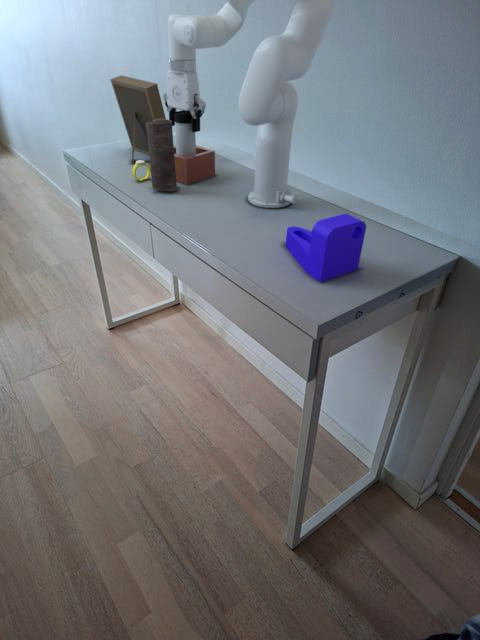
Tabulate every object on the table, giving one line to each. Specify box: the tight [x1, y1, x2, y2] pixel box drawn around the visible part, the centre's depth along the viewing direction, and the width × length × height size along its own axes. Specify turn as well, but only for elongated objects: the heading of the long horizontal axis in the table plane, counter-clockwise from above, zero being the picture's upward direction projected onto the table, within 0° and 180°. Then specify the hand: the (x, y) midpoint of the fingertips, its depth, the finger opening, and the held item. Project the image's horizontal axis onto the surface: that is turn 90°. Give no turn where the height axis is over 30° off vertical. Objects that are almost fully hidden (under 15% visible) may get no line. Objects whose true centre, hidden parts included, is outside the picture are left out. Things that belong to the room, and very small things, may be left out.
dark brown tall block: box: [146, 118, 178, 192], centre depth 132 cm, size 8×7×20 cm
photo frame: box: [110, 74, 167, 165], centre depth 158 cm, size 15×22×25 cm
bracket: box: [285, 213, 367, 283], centre depth 101 cm, size 18×11×12 cm, turn 33°
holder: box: [174, 145, 216, 186], centre depth 147 cm, size 13×13×8 cm
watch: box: [131, 159, 151, 182], centre depth 143 cm, size 6×3×6 cm, turn 135°
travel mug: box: [174, 110, 197, 157], centre depth 143 cm, size 6×7×20 cm
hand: (184, 128), depth 141 cm, fingers open, 9 cm apart
